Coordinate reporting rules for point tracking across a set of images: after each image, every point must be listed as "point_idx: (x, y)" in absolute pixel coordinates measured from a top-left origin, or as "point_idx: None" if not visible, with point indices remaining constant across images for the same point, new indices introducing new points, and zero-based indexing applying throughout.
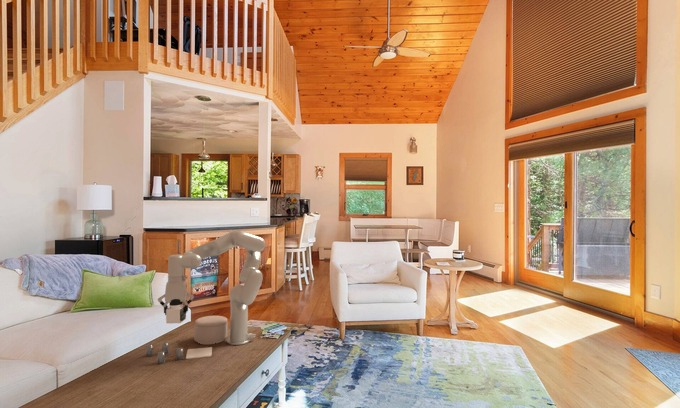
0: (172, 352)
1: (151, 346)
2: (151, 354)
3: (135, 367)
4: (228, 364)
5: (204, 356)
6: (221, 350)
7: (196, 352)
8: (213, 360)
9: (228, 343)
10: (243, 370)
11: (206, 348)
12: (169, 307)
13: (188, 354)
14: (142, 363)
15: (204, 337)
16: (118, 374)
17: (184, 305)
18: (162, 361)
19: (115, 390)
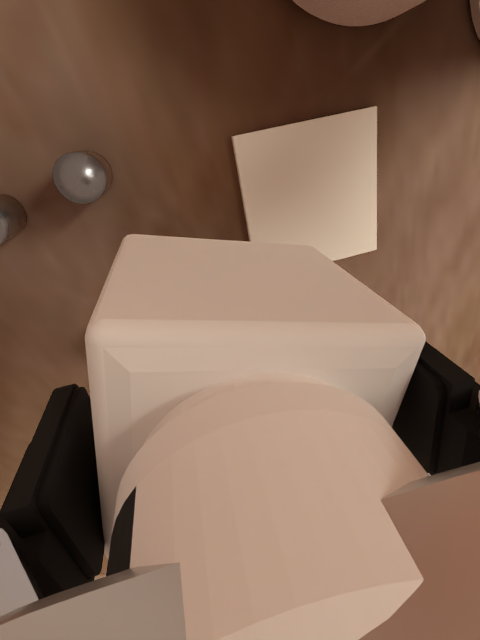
0: (140, 166)
1: (2, 239)
2: (23, 225)
3: (41, 375)
4: (435, 332)
5: (342, 257)
6: (421, 155)
7: (296, 201)
8: (381, 294)
9: (475, 26)
10: (474, 377)
11: (345, 131)
12: (115, 488)
13: (258, 231)
14: (45, 331)
15: (348, 8)
16: (11, 440)
17: (408, 361)
18: None
19: None
